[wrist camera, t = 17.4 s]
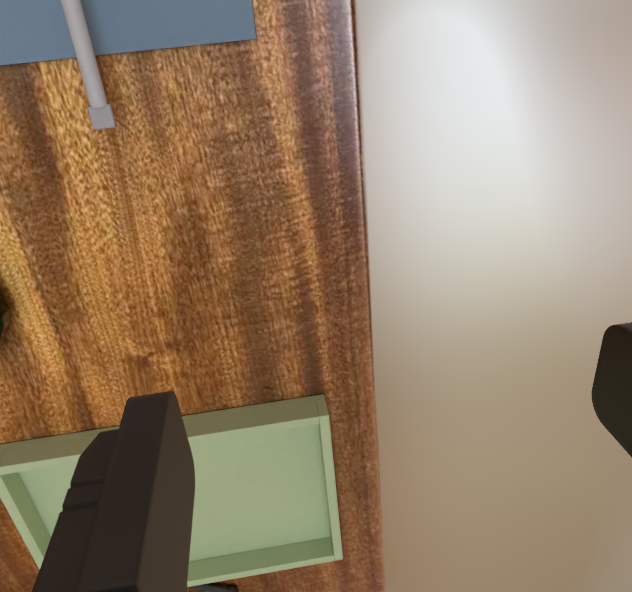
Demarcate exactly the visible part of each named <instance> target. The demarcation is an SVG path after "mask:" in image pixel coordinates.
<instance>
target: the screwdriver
mask: <svg viewBox="0 0 632 592" xmlns="http://www.w3.org/2000/svg"><path fill="white" fill-rule="evenodd" d="M61 3H62V7H63V11H64V14H65V18H66V21H67V25H68V28H69V32H70V36H71V39H72V43H73V46H74V50H75V53H76V57H77V61H78V64H79V68H80V71H81V75H82V78H83V82H84V86H85V89H86V93H87V96H88V100H89V103H90V106H88V107H87V108H88V111H89V115H90V118H91V122H92V125H93V129H94V130H95V129H104V128H113V127H116V122H115V118H114V114H113V110H112V106H111V104H108V103H107V99H106V96H105V92H104V88H103V84H102V81H101V77H100V73H99V69H98V65H97V62H96V58H95V54H94V50H93V46H92V43H91V39H90V35H89V31H88V28H87V24H86V20H85V16H84V12H83V9H82V5H81V1H80V0H61Z"/></svg>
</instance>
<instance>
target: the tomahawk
mask: <svg viewBox="0 0 632 592" xmlns="http://www.w3.org/2000/svg"><path fill="white" fill-rule="evenodd" d="M187 588H189V589H196V590H201V591H210V592H238V589H237V588H235V587H233V586H231V587H229V588H228V589H227V588H223V587H218V586H213V585H207V584H202V585H197V586H191V587H187Z"/></svg>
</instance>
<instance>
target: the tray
mask: <svg viewBox="0 0 632 592" xmlns="http://www.w3.org/2000/svg"><path fill="white" fill-rule="evenodd" d="M182 419H183V423H184V426H185V430H186V433H187V437H188V441H189V444H190V448H191V452H192V456H193V461H194V469H195V497H194V509H193V521H192V532H191V544H190V556H189V568H188V579H187V587H191V586H197V585H202V584H208V583H213V582H219V581H225V580H230V579H236V578H241V577H247V576H252V575H258V574H264V573H269V572H275V571H280V570H286V569H291V568H297V567H303V566H308V565H314V564H319V563H325V562H330V561H334V560H341V559H343V554H342V543H341V533H340V523H339V513H338V503H337V492H336V482H335V472H334V462H333V452H332V441H331V431H330V421H329V413H328V409H327V405H326V400H325V396H324V394H321V395H315V396H308V397H302V398H295V399H289V400H283V401H276V402H270V403H263V404H257V405H250V406H244V407H238V408H231V409H225V410H218V411H212V412H205V413H199V414H193V415H186V416H182ZM119 427H120V426H115V427H109V428H103V429H96V430H90V431H83V432H77V433H70V434H64V435H57V436H51V437H45V438H38V439H32V440H25V441H19V442H12V443H6V444H0V498H1V500H2V502H3V503H4V505H5V507H6V509H7V511H8V513H9V514H10V516H11V518H12V520H13V522H14V524H15V525H16V527H17V529H18V531H19V533H20V535H21V536H22V538H23V540H24V542H25V544H26V546H27V547H28V549H29V551H30V553H31V555H32V557H33V558H34V560H35V562H36V564H37V566H38V568H39V569H40V568H41V565H42V562H43V559H44V556H45V553H46V550H47V548H48V545H49V542H50V539H51V536H52V533H53V531H54V528H55V525H56V522H57V519H58V516H59V513H60V512H62V510H63V508H62V505H63V502H64V499H65V496H66V494H67V491H68V489H70V487H71V485H70V482H71V479H72V476H73V474H74V471H75V468H76V465H77V462H78V459H79V456H80V455H81V454H82V453H83V452H84V450H85V449H86V448H87V447H88V446H89V444H90V443H91V442H92V441H93V440H94V438H95V437H96V436H97V435H98V434H99V432H102V431H109V430H115V429H119Z"/></svg>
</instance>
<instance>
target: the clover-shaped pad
mask: <svg viewBox="0 0 632 592" xmlns="http://www.w3.org/2000/svg"><path fill="white" fill-rule="evenodd" d="M10 319H11V314H10V309H9V307H8V305H7V304H6V302H5V301H4V299H3V298H2V296H1V295H0V347H1V344H2V341H3V339H4V336H5V333H6V330H7V327H8V324H9V322H10Z"/></svg>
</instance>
